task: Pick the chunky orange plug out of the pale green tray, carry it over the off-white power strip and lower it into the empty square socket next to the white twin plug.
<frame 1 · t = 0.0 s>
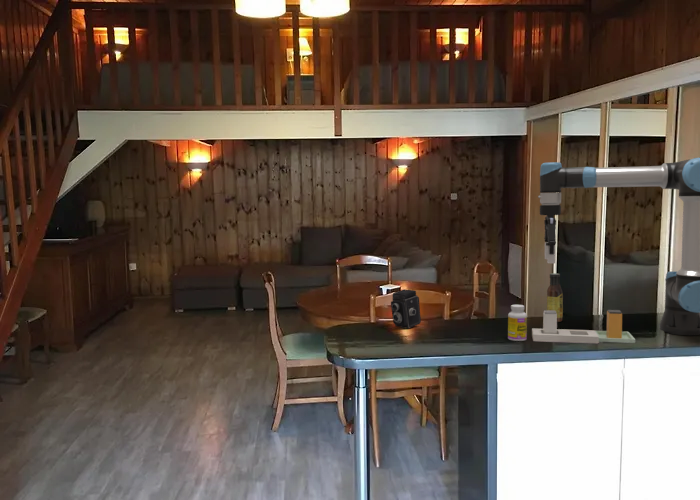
hand: (549, 261, 228), 28 cm above the table, tool pointing down, fingers open, 13 cm apart
plug: (613, 338, 221), point 1 cm above the table, touching tray
sauce bottle: (554, 321, 254), on the table
supplement bottle: (517, 340, 223), on the table
pdu strip: (564, 340, 221), on the table
twin plug: (549, 338, 222), point 1 cm above the table, touching pdu strip
tray: (613, 339, 221), on the table
camera: (404, 327, 248), on the table
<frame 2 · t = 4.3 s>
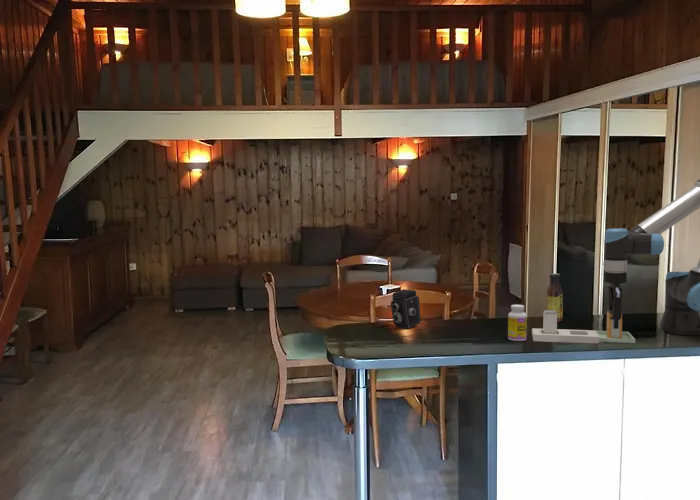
hand: (614, 335, 221), 2 cm above the table, tool pointing down, fingers closed on plug, 4 cm apart
plug: (613, 338, 221), point 1 cm above the table, touching gripper, tray
everything else where it was.
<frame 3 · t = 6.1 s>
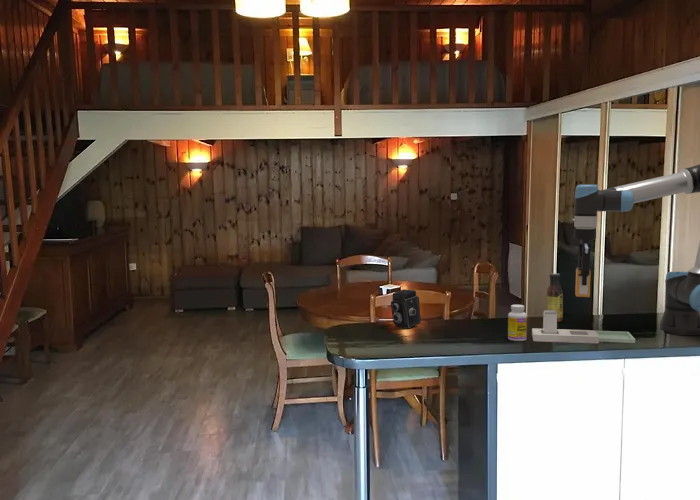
hand: (582, 292, 219), 18 cm above the table, tool pointing down, fingers closed on plug, 4 cm apart
plug: (582, 295, 219), point 17 cm above the table, touching gripper
everything else where it was.
when the fingers open (3 cm above the table, at t = 8.2 s): plug drops 2 cm, resting on pdu strip.
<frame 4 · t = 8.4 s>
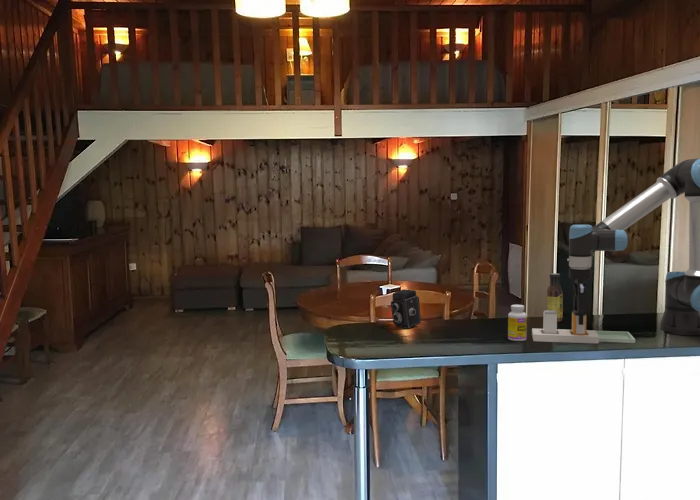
hand: (578, 330, 220), 4 cm above the table, tool pointing down, fingers open, 7 cm apart
plug: (578, 339, 220), point 1 cm above the table, touching pdu strip
everything else where it was.
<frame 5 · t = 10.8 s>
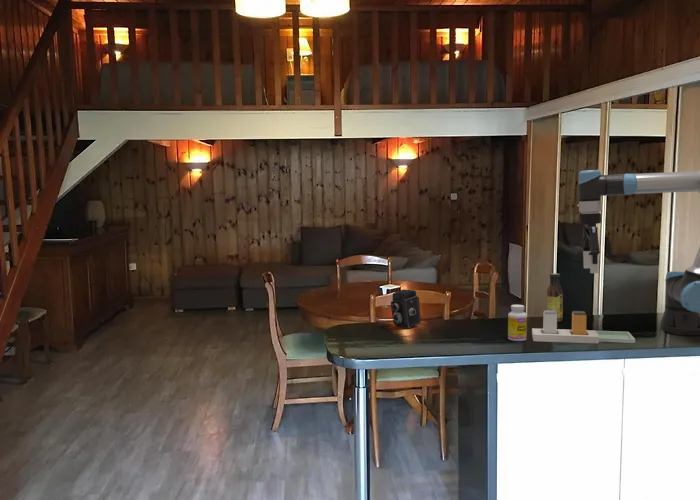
hand: (590, 270, 224), 25 cm above the table, tool pointing down, fingers open, 13 cm apart
nothing on the table moved.
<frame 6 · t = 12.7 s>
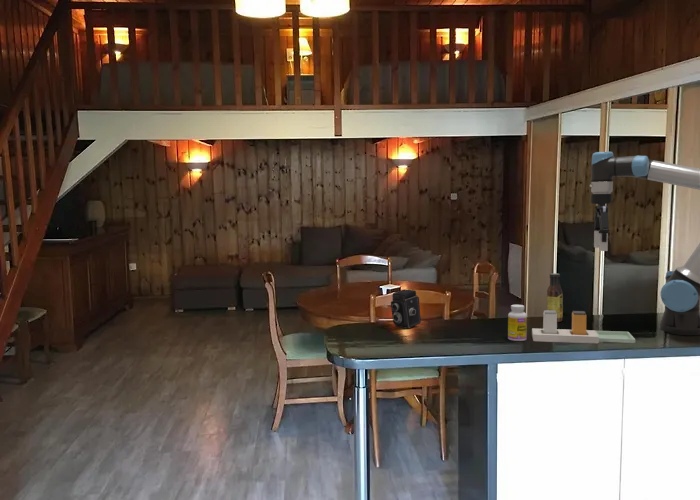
hand: (600, 249, 232), 32 cm above the table, tool pointing down, fingers open, 13 cm apart
nothing on the table moved.
at the end: plug 0.0 cm from the target spot on the pdu strip, point 0.6 cm above the pdu strip's base; plug tilted 0°; the gripper is holding nothing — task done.
